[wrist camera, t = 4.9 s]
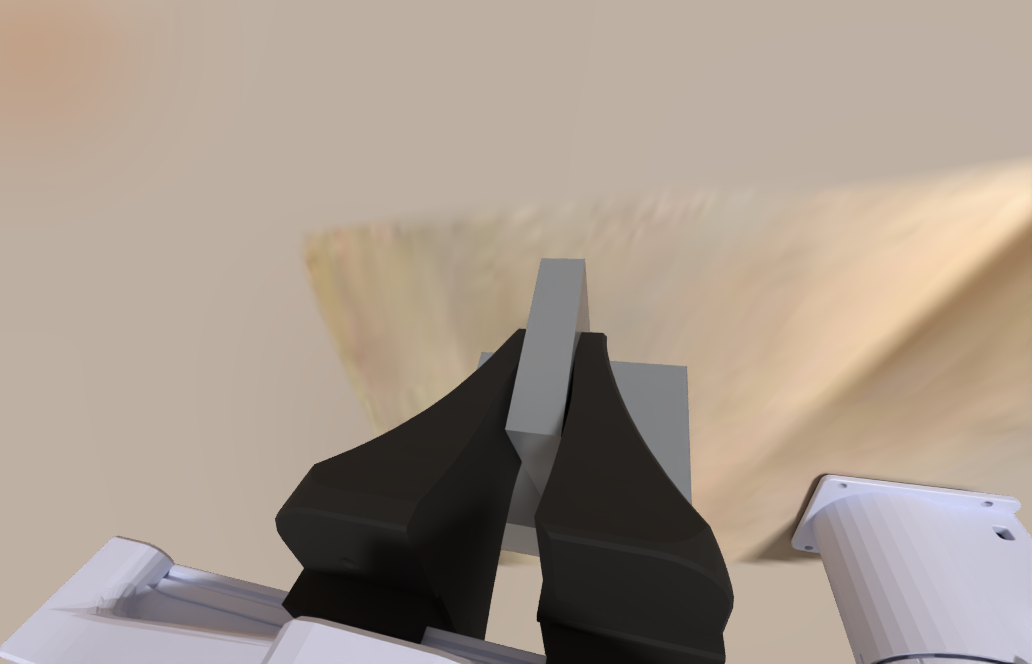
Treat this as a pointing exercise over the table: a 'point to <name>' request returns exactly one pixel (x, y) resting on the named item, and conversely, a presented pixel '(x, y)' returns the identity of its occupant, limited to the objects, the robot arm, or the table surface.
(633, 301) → the table surface
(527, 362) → the grey block with fin
